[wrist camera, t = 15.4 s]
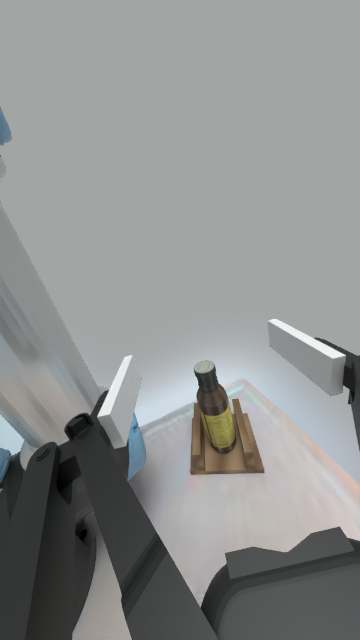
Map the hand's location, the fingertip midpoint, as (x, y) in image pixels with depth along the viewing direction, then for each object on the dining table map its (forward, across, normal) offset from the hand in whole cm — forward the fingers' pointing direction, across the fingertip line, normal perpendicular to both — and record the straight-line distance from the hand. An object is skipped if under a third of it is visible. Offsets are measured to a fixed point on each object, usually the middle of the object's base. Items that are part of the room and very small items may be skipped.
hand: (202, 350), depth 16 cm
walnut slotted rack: (+13, +1, -32) cm, 34 cm away
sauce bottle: (+13, +1, -31) cm, 34 cm away
